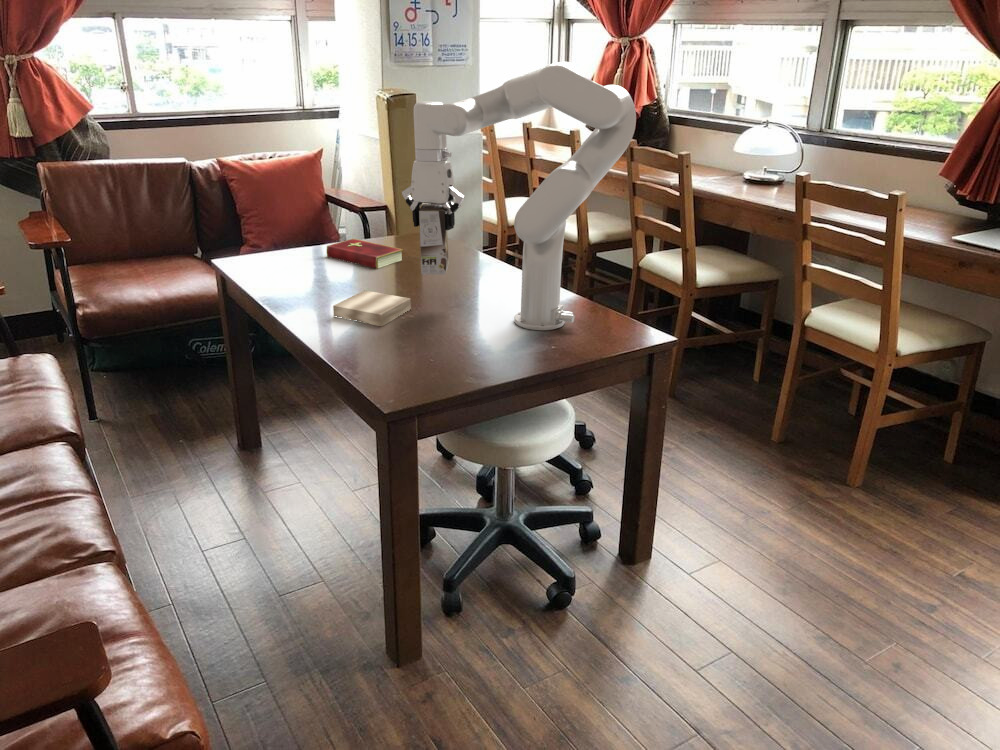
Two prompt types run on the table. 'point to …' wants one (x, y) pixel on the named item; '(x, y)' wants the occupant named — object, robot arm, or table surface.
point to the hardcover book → (364, 253)
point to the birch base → (372, 307)
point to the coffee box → (433, 239)
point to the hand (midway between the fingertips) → (433, 227)
